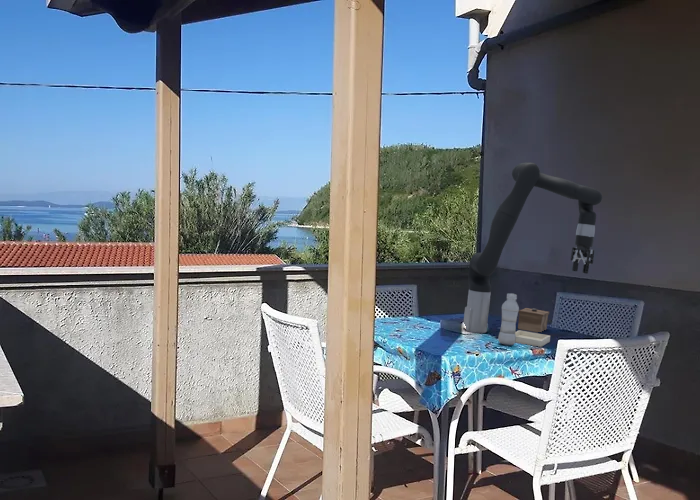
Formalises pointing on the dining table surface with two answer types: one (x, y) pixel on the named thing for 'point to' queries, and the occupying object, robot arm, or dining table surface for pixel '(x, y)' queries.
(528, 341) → the tray
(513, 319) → the plastic bottle
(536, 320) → the lidded box
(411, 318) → the dining table surface
